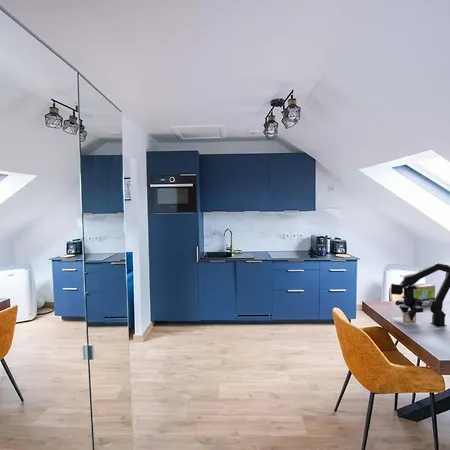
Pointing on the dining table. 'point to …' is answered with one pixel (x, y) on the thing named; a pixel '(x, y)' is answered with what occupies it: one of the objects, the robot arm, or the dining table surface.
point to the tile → (407, 318)
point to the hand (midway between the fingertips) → (408, 319)
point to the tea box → (424, 293)
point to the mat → (406, 322)
